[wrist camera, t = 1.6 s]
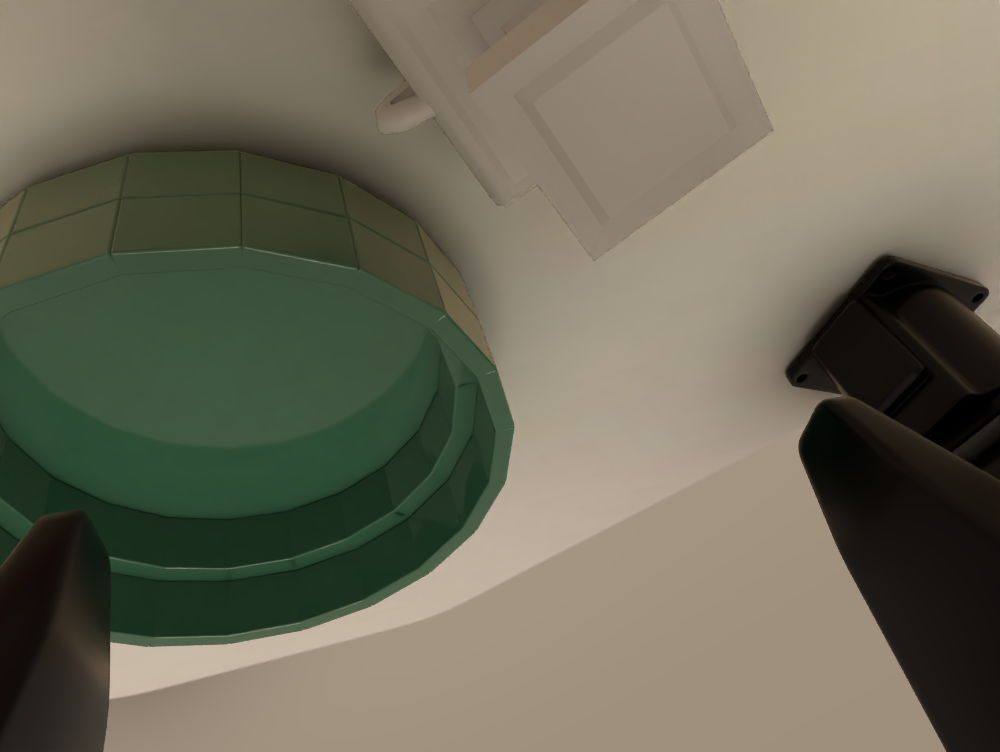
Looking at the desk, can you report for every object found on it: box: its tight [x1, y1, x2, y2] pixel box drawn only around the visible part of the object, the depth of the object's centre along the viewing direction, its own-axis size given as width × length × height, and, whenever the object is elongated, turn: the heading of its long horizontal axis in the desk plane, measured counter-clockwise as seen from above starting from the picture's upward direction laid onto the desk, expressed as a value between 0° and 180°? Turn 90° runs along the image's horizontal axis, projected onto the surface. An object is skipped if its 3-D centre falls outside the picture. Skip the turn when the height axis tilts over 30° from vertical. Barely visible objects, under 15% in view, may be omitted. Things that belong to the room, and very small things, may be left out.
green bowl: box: [0, 150, 514, 647], centre depth 23 cm, size 16×16×5 cm
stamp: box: [348, 0, 774, 261], centre depth 15 cm, size 9×7×8 cm
